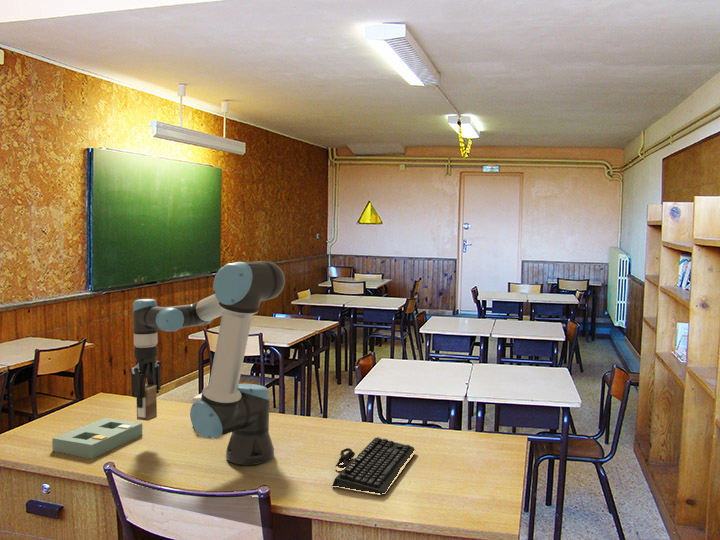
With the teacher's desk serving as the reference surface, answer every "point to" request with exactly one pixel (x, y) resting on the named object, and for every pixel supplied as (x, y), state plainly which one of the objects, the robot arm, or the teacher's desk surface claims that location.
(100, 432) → the socket board
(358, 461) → the keyboard
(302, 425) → the teacher's desk surface
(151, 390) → the plug
